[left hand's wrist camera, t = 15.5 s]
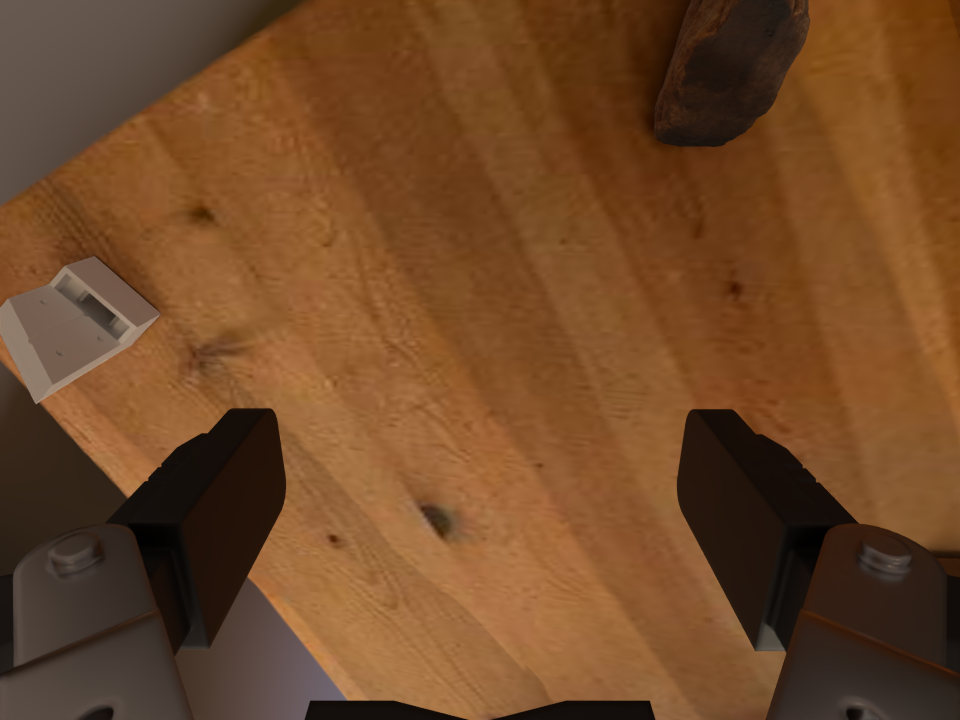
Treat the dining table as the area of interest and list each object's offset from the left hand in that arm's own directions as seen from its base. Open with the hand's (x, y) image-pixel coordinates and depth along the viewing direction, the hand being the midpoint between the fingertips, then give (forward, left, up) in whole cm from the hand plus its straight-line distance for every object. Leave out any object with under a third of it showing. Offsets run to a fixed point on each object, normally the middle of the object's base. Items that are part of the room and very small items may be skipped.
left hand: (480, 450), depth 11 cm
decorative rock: (-11, +14, -31) cm, 36 cm away
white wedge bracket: (+6, -27, -31) cm, 41 cm away
